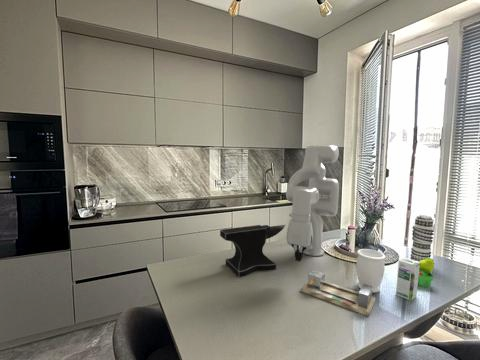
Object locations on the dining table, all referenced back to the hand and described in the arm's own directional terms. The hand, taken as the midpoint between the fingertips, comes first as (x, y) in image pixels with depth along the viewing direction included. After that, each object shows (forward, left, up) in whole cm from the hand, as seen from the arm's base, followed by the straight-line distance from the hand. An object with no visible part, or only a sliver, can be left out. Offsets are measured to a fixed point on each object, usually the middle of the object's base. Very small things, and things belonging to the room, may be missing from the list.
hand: (298, 260), depth 107 cm
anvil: (-23, +2, -10) cm, 25 cm away
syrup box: (+38, +19, -10) cm, 43 cm away
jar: (+25, +16, -10) cm, 31 cm away
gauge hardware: (+17, +1, -9) cm, 19 cm away
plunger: (+8, -1, -9) cm, 12 cm away
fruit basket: (+42, +37, -10) cm, 57 cm away
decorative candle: (+41, +61, -10) cm, 74 cm away
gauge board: (+16, +1, -10) cm, 19 cm away
